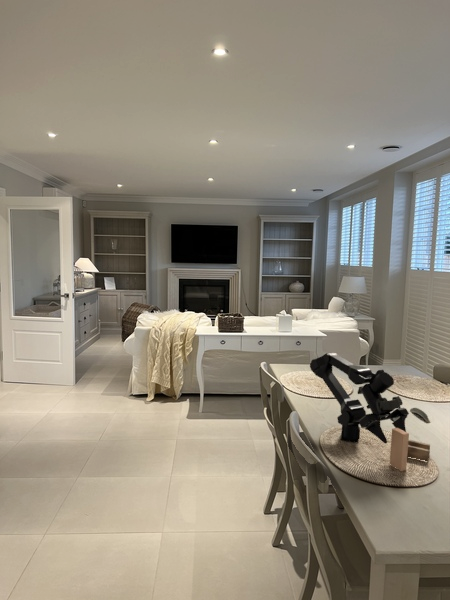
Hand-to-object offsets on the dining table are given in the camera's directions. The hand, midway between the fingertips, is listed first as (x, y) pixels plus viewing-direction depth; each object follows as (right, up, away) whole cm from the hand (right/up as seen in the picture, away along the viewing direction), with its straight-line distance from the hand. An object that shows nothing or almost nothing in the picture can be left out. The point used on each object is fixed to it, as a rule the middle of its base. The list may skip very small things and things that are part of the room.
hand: (396, 440), depth 143 cm
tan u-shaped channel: (+10, -8, +9) cm, 16 cm away
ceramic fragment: (+30, -5, +46) cm, 55 cm away
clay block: (0, -9, 0) cm, 9 cm away
